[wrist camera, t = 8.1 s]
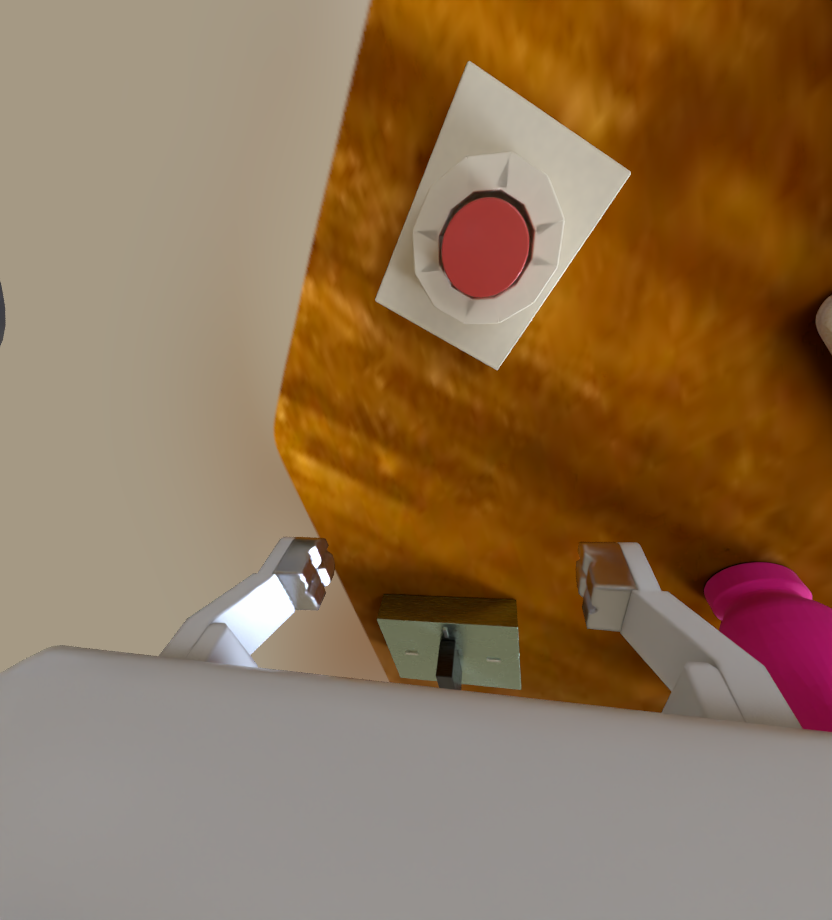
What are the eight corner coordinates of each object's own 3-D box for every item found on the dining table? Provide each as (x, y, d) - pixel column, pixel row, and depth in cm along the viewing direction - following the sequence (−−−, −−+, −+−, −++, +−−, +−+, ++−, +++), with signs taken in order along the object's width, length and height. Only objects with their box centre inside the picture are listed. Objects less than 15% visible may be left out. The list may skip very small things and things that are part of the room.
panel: (405, 652, 45) (400, 679, 43) (383, 593, 39) (375, 620, 36) (519, 662, 42) (521, 691, 39) (516, 599, 35) (517, 629, 33)
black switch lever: (439, 640, 37) (435, 678, 34) (455, 641, 36) (451, 680, 33) (447, 670, 40) (444, 707, 37) (462, 671, 39) (459, 709, 36)
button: (496, 305, 17) (496, 313, 16) (432, 266, 17) (426, 271, 16) (543, 226, 15) (548, 227, 14) (471, 180, 15) (469, 177, 14)
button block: (497, 358, 22) (497, 383, 19) (384, 293, 21) (364, 308, 18) (617, 176, 17) (647, 167, 13) (470, 76, 16) (464, 41, 12)
